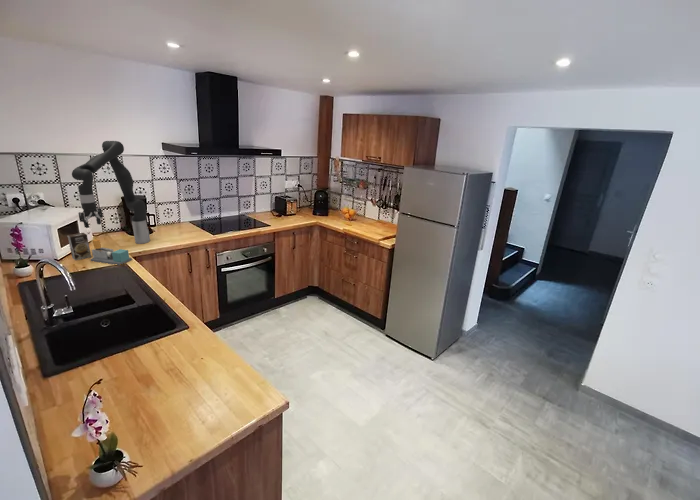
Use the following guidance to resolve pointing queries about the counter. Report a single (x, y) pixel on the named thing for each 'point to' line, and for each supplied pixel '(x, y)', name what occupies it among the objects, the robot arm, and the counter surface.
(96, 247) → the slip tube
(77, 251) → the coffee box
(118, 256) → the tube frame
